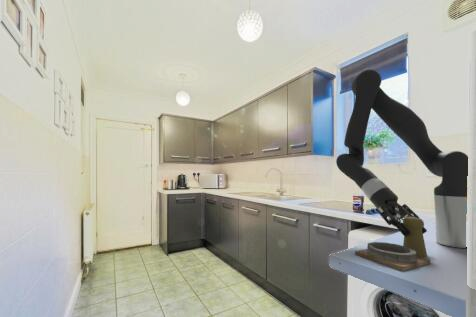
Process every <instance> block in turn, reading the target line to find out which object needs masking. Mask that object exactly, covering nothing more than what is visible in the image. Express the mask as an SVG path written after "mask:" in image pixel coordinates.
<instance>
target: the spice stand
mask: <svg viewBox="0 0 476 317" xmlns="http://www.w3.org/2000/svg"><path fill="white" fill-rule="evenodd" d="M354 255H356V256H359V257H362V258H364V259H367V260H369V261H373V262H374V263H375V262H376V263H379V264H381V265H384V266H387V267H390V268H392V269H396V270H398V271H402V272H405V271H408V270H411V269H412V270H413V269H415V268H419V267H422V266H426V265H429V264H431V259H429V258H426V257H419V256H416V251H415V250H413V249H411V248H409V247H405V246H403V245H401V244H396V243H390V242H383V241H382V242H381V241H379V242H378V241H373V242H368V243H367V247H366V248H365V249H359V250H355V251H354ZM404 270H405V271H404Z"/></svg>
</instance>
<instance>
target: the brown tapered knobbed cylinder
mask: <svg viewBox="0 0 476 317" xmlns="http://www.w3.org/2000/svg"><path fill="white" fill-rule="evenodd" d="M402 223H403V224H404V225H405V226H406V227H407V228H408V229H409V230H410V231H411V234H410V235H409V236H407V237H405V236H404V235H403V244H402V246H405V247H409V248H411V249H413V250H415V251H416V256H419V257H422V258H426V257H428V253H427V249H426V243H425V238H424V234H423V232H422V228H423V227H424V226H425V222H424V220H423V219H422V218H420V217H419V218H416V217H405V218H404V219H403V220H402ZM424 228H425V227H424Z"/></svg>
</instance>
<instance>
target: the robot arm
mask: <svg viewBox="0 0 476 317" xmlns="http://www.w3.org/2000/svg"><path fill="white" fill-rule="evenodd" d="M381 84H382V76H381V74H380V73H379V71H377V69H372V68H369V69H365V70H363V71H361V72H360V73H359V74H357V75H356V77H355V78H354V79H353V81H352V82H351V86H350V88H351V91H352V93H353V94H354V96H355V99H354V104H353V109H352V112H351V115H350V118H349V121H348V124H347V127H346V132H345V136H344V137H345V138H344V140H343V141H344V142H343V144H344V146H345V148H347V149H348V153H342V154H339V155H338V156H337V158H336V161H335V162H336V167H337V168H338V169H339V171H340V172H342V173H343V174H344V175H345V176H346V177H347V178H349V179H350V180H352V181H353V182H354V183H355V184H356V185H357V187H358V188H359V189H361V191H362V192H363V194H364V196H366V198H367V200H369V201H370V202H371V203H372V204H373V206H374V207H375V208H376V212H377V213H378V214H379V215H380V216H381V218H382V219H383V220H384V221H385V223H386V224H387V225H388V226H393V227H395V228H396V230H398V231H399V232H400V233H401V234H402V235H403V237H404V236H405V237H407V236H409V235H410V234H411V231H410V230H409V229H408V228H407V227H406V226H405V225H404V224H403V222H402V221H403V219H404V218H405V217H416V218H420V216H419V215H418V214H416V213H415V212H414V210H412V209H411V208H410V207H409V206H408V205H407V204H405V203H403V204H402V205H401V204H400V203H398V200H399V197H398V195H397V194H396V193H395V192H393V190H391V189H390V187H389V186H387V184H385V182H383V180H381V179H380V178H379V177H378V176H377V175H375V173H373V172H372V170H370V169H368V168H366V167H364V166H363V165H364V162H365V152H364V151H365V149H364V143H365V137H366V134H367V130H368V125H369V119H370V116H371V112H372V110H373V111H374V112H375V113H376V114H377V116H378V117H379V118H380V119H381V120H382V121H383V122H384V124H385V125H386V126H387V127H388V128H389V129H390V130H391V131H392V132H393V133H394V134H395V135H396V136H397V137H399V138H400V139H401V140H402V142H404V144H406V145H407V146H408V147H409V149H411V150H412V151H413V153H414V154H415V155H416V156H417V157H418V158H419V160H420V161H421V162H422V164H423V165H424V166H425V168H427V170H428V171H429V172H430V173H431V174H433V175H434V176H437V177H440V178H441V182H440V184H438V185H437V186H435V187H434V188H433V199H434V200H433V202H434V220H435V223H434V224H435V237H436V238H435V240H436V241H435V242H436V243H437V244H440V245H443V246H448V247H454V248H460V249H467V248H466V214H467V176H468V157H469V156H468V155H467V154H466V153H465V152H462V151H460V150H459V151H458V150H454V151H445V152H444V151H442V150H440V149H439V148H438V147H437V146H436V145H435V144H434V142H433V141H432V140H431V139H430V137H429V133H428V129H427V127H426V124H425V122H424V121H423V119H422V118H421V117H419V116H418V115H417V113H416V112H414V110H412V109H411V108H409V107H408V106H407V105H405V104H403V103H401V102H400V101H398V100H396V99H394V98H392V97H390V96H389V95H388V94H387V93H386V92H385V91H384V90H383V89H382V88H381ZM427 231H428V229H427V228H426V227H423V228H422V232H423V235H424V234H425V233H427Z"/></svg>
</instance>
